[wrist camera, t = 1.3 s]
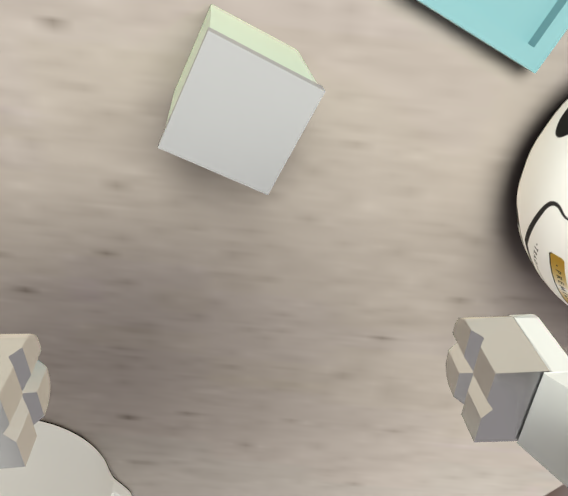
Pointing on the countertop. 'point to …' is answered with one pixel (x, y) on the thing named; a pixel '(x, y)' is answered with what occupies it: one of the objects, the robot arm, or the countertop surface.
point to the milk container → (547, 203)
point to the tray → (509, 25)
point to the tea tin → (240, 102)
